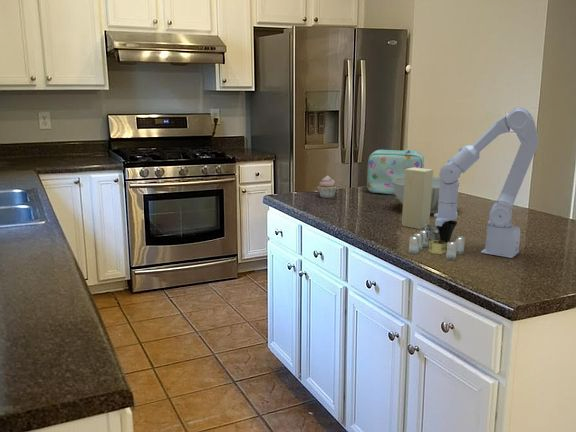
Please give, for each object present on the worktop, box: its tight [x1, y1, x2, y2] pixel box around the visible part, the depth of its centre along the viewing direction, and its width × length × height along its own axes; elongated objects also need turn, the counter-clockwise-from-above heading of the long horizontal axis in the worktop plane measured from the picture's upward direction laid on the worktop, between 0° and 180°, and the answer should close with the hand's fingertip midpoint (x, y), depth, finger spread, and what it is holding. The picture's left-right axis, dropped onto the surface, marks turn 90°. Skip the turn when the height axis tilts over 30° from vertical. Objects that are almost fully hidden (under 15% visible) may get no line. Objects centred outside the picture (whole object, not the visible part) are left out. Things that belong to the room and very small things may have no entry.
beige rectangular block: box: [401, 167, 434, 230], centre depth 207 cm, size 8×7×21 cm
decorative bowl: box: [391, 176, 460, 215], centre depth 233 cm, size 27×27×12 cm
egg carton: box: [423, 222, 440, 241], centre depth 195 cm, size 11×8×4 cm
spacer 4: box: [445, 240, 457, 261], centre depth 170 cm, size 3×3×5 cm
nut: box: [428, 239, 447, 255], centre depth 177 cm, size 5×5×3 cm
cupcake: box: [316, 175, 339, 199], centre depth 260 cm, size 9×9×10 cm
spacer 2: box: [413, 232, 423, 251], centre depth 179 cm, size 3×3×5 cm
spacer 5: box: [454, 235, 466, 255], centre depth 175 cm, size 3×3×5 cm
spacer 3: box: [419, 229, 429, 248], centre depth 183 cm, size 3×3×5 cm
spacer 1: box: [408, 235, 419, 255], centre depth 175 cm, size 3×3×5 cm
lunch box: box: [366, 148, 426, 196], centre depth 267 cm, size 27×10×21 cm, turn 72°
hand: (444, 243), depth 182 cm, fingers closed
